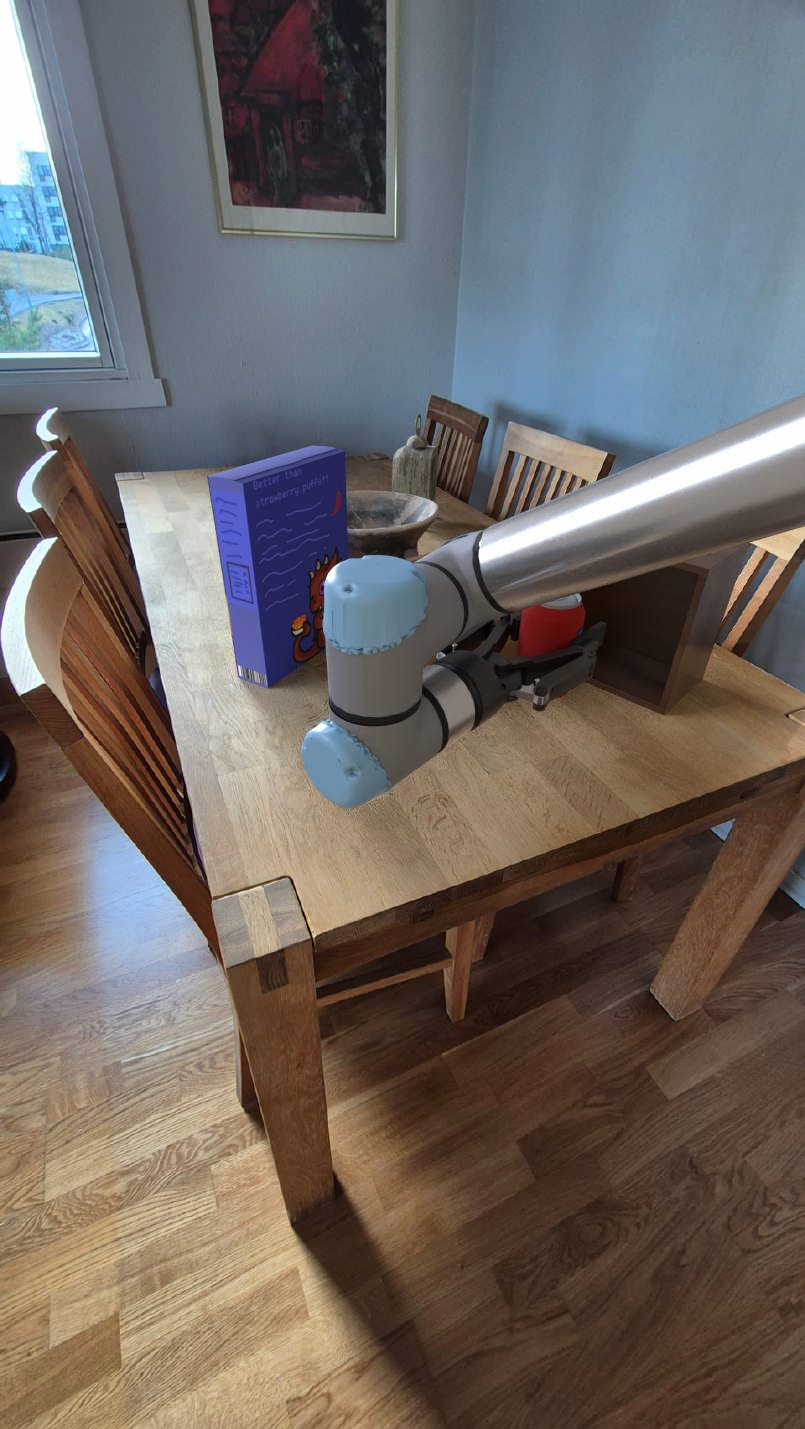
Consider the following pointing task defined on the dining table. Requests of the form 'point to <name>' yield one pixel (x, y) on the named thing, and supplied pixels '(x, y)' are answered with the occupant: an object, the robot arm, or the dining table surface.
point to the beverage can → (550, 626)
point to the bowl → (387, 523)
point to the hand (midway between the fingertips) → (572, 622)
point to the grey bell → (416, 467)
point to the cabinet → (661, 627)
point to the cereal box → (279, 555)
